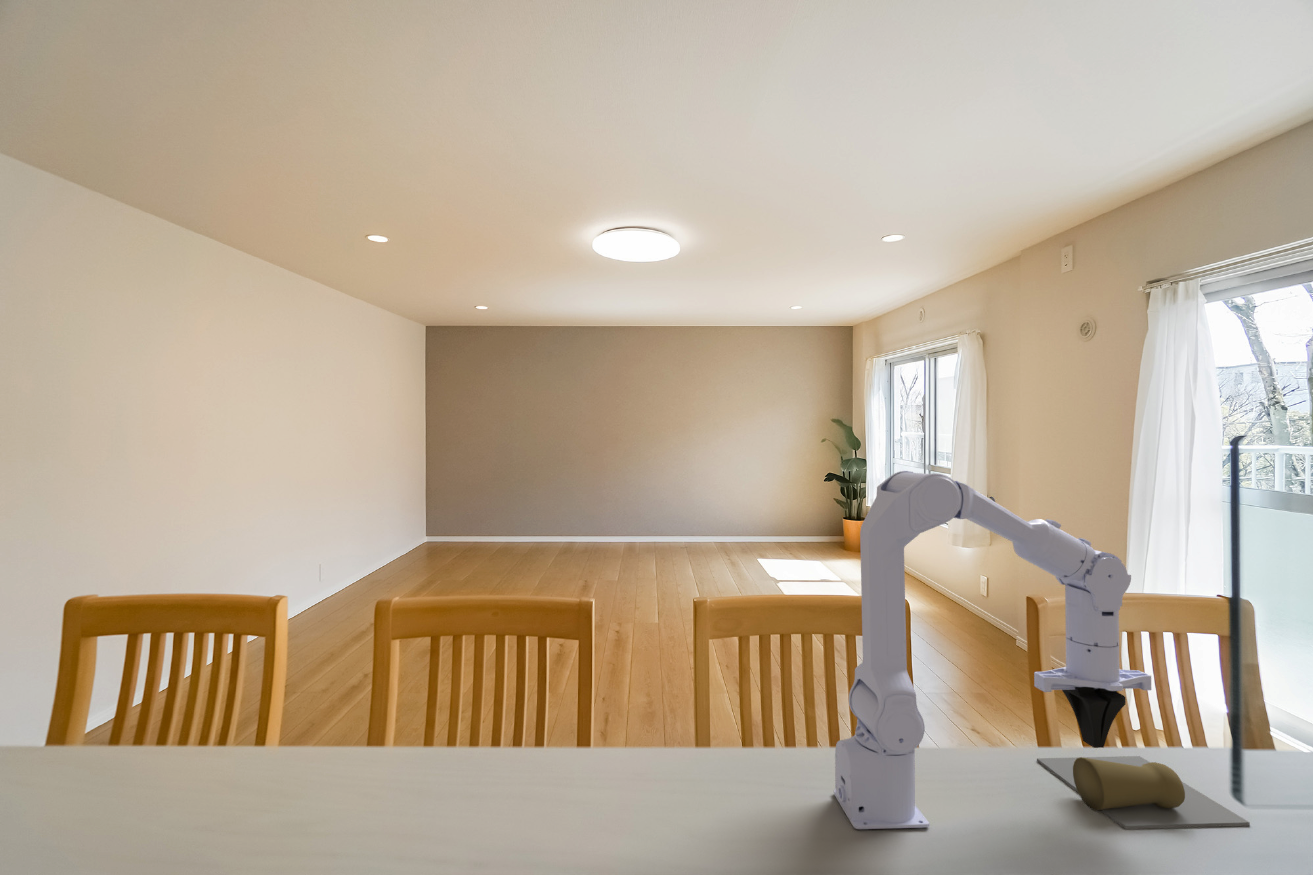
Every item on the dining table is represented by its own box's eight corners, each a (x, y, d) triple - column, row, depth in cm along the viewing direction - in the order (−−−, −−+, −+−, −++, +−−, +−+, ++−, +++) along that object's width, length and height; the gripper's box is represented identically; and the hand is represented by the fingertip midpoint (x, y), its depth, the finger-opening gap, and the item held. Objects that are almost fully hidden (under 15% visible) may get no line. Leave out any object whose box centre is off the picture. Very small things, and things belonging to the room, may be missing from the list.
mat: (1125, 828, 73) (1125, 825, 73) (1036, 760, 89) (1036, 758, 89) (1249, 825, 74) (1249, 822, 74) (1139, 758, 90) (1139, 755, 90)
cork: (1106, 818, 75) (1197, 821, 74) (1101, 766, 76) (1190, 768, 75) (1075, 798, 80) (1159, 800, 80) (1070, 750, 82) (1153, 752, 81)
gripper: (1060, 651, 74) (1061, 761, 74) (1172, 649, 75) (1173, 758, 75) (1023, 633, 81) (1024, 733, 81) (1125, 632, 82) (1126, 731, 82)
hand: (1093, 744), depth 78 cm, fingers closed
